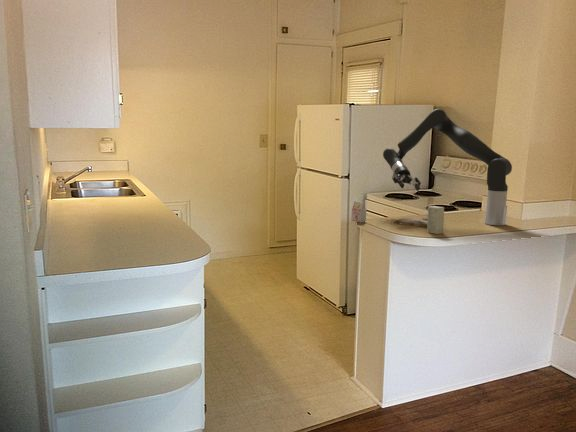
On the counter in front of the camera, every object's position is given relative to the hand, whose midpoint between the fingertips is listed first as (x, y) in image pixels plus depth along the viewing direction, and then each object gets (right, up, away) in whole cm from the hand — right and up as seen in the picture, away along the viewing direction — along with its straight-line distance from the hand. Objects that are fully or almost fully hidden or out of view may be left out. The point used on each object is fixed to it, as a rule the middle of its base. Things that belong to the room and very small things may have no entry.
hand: (410, 188), depth 257 cm
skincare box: (+6, -22, -20) cm, 31 cm away
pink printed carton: (-26, -17, +5) cm, 31 cm away
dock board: (+4, -18, 0) cm, 18 cm away
